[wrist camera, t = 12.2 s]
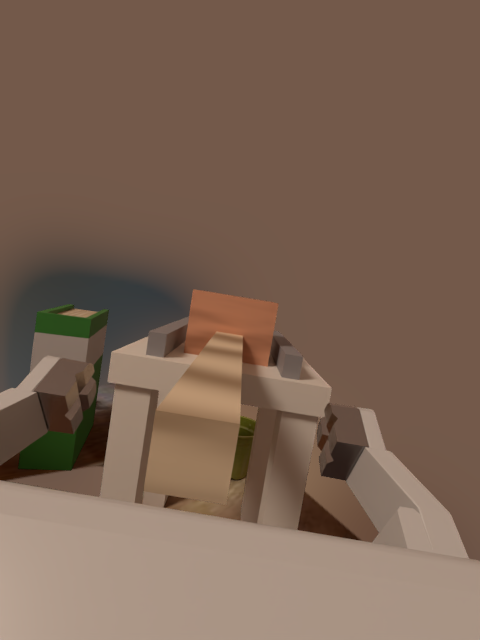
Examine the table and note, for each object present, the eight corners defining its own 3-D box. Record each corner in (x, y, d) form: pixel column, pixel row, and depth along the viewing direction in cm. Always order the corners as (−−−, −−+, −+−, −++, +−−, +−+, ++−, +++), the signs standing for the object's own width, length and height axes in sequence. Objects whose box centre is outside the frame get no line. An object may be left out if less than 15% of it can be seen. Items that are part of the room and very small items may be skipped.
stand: (278, 670, 29) (336, 364, 27) (72, 635, 29) (114, 327, 27) (264, 510, 51) (295, 333, 49) (145, 490, 51) (172, 313, 49)
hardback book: (53, 422, 69) (69, 304, 67) (93, 424, 70) (108, 309, 69) (18, 468, 52) (37, 311, 50) (71, 470, 53) (91, 319, 52)
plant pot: (265, 474, 62) (273, 428, 61) (234, 493, 54) (243, 441, 54) (226, 453, 68) (233, 411, 67) (192, 468, 60) (200, 420, 59)
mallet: (317, 520, 10) (355, 321, 10) (51, 476, 10) (78, 275, 10) (263, 354, 39) (272, 302, 39) (194, 342, 39) (202, 290, 39)
